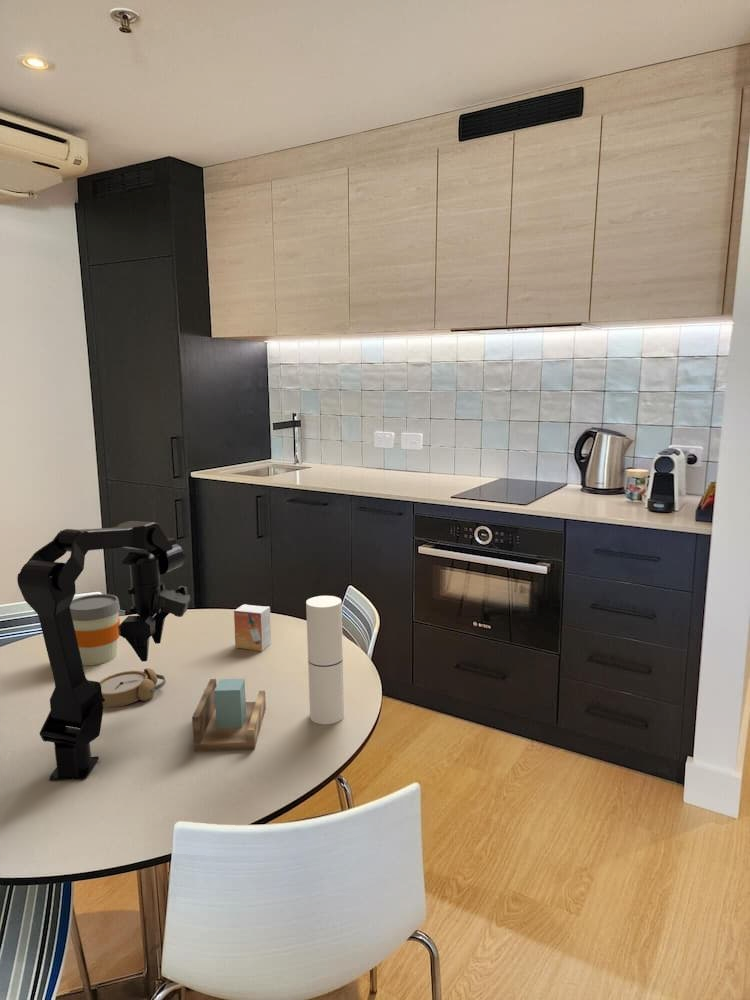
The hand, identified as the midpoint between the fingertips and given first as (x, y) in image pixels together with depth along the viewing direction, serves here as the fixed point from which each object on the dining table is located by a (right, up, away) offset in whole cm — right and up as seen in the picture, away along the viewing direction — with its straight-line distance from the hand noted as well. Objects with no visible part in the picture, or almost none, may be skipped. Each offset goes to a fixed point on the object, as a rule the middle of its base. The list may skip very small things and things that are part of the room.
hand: (151, 651), depth 137 cm
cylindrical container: (+37, -13, -1) cm, 40 cm away
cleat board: (+18, -14, -6) cm, 24 cm away
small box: (+15, -7, +35) cm, 39 cm away
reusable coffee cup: (-24, -9, +29) cm, 39 cm away
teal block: (+18, -13, -6) cm, 23 cm away
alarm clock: (-8, -12, +9) cm, 17 cm away
